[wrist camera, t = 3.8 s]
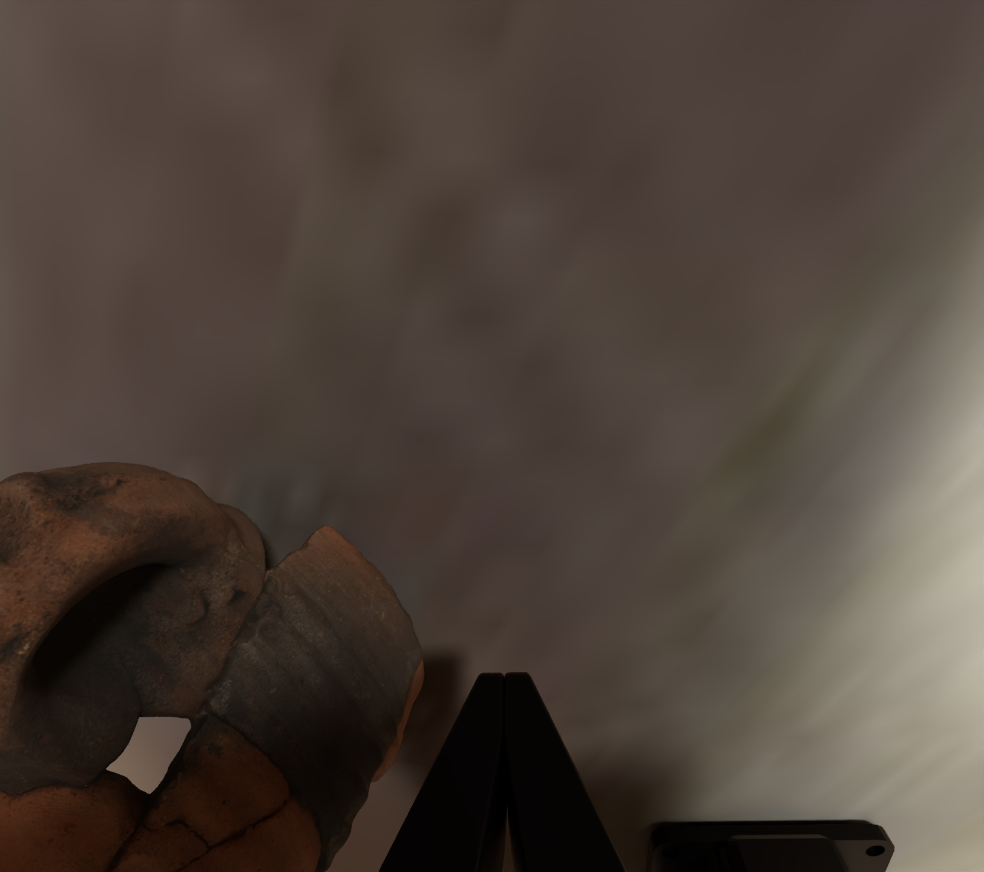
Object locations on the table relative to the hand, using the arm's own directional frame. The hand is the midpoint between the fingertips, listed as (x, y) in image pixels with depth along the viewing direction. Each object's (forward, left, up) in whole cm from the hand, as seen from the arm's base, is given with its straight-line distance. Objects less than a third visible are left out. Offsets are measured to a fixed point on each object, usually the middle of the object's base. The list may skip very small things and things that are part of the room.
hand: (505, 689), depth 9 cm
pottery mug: (-1, +7, -3) cm, 8 cm away
